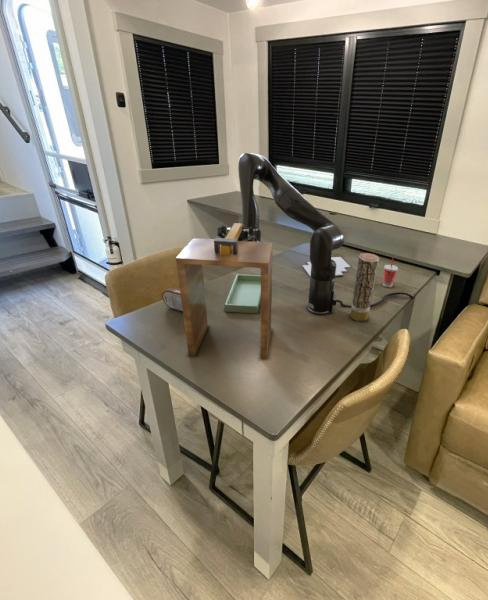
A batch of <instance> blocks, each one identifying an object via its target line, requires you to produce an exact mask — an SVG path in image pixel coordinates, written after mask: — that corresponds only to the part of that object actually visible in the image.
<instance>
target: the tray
mask: <svg viewBox="0 0 488 600" xmlns="http://www.w3.org/2000/svg"><path fill="white" fill-rule="evenodd" d="M260 305H261V274H260V275H258V274H241V273H240V274H239V273H236V275H235V278H234V280H233V283H232V285H231V288H230V290H229V293H228V295H227V298H226V300H225V303H224V312H225V313H243V314H244V313H245V314H247V313H248V314H258V312H259V308H260Z"/></svg>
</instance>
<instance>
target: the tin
mask: <svg viewBox="0 0 488 600" xmlns="http://www.w3.org/2000/svg"><path fill="white" fill-rule="evenodd" d="M161 298H162V300H163V303H164V304H165V305H166V306H167V307H168V308H169V309H172V310H175V311H179V312H182V313H183V309H182V301H181V294H180V288H177V287H173V286H170V287H167V288H166V289H165V290H164V291H162V293H161Z"/></svg>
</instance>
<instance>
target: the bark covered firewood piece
mask: <svg viewBox="0 0 488 600" xmlns="http://www.w3.org/2000/svg"><path fill="white" fill-rule="evenodd" d="M379 261H380V257H379V255H377V254H374V253H370V252H363V253H360V254H359V257H358V263H357V268H356V269H357V270H356V274H355V282H354V288H353V295H352V302H351V306H352V307H350V308H351V309H350V314H349V315H350V318H351V319H352V320H354V321H357V322H365V321H366V320H368V318H369V314H370V310H371V309H370V308H371V307H370V305H371V304H372V299H373V293H374V287H375V282H376V277H377V273H378V266H379Z"/></svg>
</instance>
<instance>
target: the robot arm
mask: <svg viewBox="0 0 488 600" xmlns="http://www.w3.org/2000/svg"><path fill="white" fill-rule="evenodd" d="M237 172H238V180H239V190H240V191H239V192H240V198H241V224H242V231H241V233H240V235H239V237H238V241H250V242H262V240H261V239H262V231H261V229H260V208H259V206H258V202H257V199H256V196H255V191H254V180H255V181H259V182H260V183H261V184H263V185H264V186H265V187H266V188H267V189H268V190H269V191H270V193H271V197H272V200H273V202H274V204H275V205H276V207H278V208H279V210H281V211H282V212H283V214H284V215H286V216H287V217H289V218H290V219H292V220H293V221H296V222H298V223H300V224H302V225H304V226H307V227H308V228H310V229H311V230H312V232H311V236H310V240H309V262H311V276H310V275H309V279H310V280H309V290H308V302H307V310H308V311H309V312H310V313H312V314H315V315H327V314H332V312H333V306H334V307H336V306H337V303H339V305H340V306H342V307H344V308H351V307H352V305H347V304H344V303H343V301H341V300H340V299H337V296H336V294H335V280H336V275H335V273H336V262H335V261H334V260H332V259H331V257H332V252H334V251H336V250H339V249H340V248H341V247H342V246H343V245H344V243H345V235H344V233H343V230H342V229H341V228H340V226H338V225H337V224H335V222H333V221H332V220H331V219H329V218H328V217H326V215H324V214H323V213H321V212H320V211H319V210H318V208H316V207H315V206H314V205H313V204H312V203H310V201H309V200H308V199H306V198H305V196H303V195H302V193H301V192H299V190H297V189H296V188H295V187H294V186H293V185H292V184H291V183H290V182H289V181H288V180H286V178H285V177H283V176H282V174H280V173H279V172H278V171H277V169H276V168H275V167H274V166H273V165H272V163H271V162H270V161H269V160H268V159H267V158H266V157H265V156H263V155H262V154H257V153H252V152H245V153H242V154H241V155H240V157H239V158H238V162H237ZM231 228H232V227H226V225H221V226H220V227H217V231H216V232H217V233H216V234H217V236H218V238H226V236H227V235H228V233H229V231H230V230H231ZM397 295H402V296H403V295H404V296H407V297H409V298H411V299H414V296H413V295H412V294H410V293H408V292H403V291H402V292H401V291H399V292H390V293H386V294H385V295H384V296H383V298H382V299H381V300H379V301H378V302H375V303H371V304H370V308H372V307H376V306H378V305H380V304H382V303H384V302H385V301H386V299H387V297H389V296H397Z"/></svg>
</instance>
